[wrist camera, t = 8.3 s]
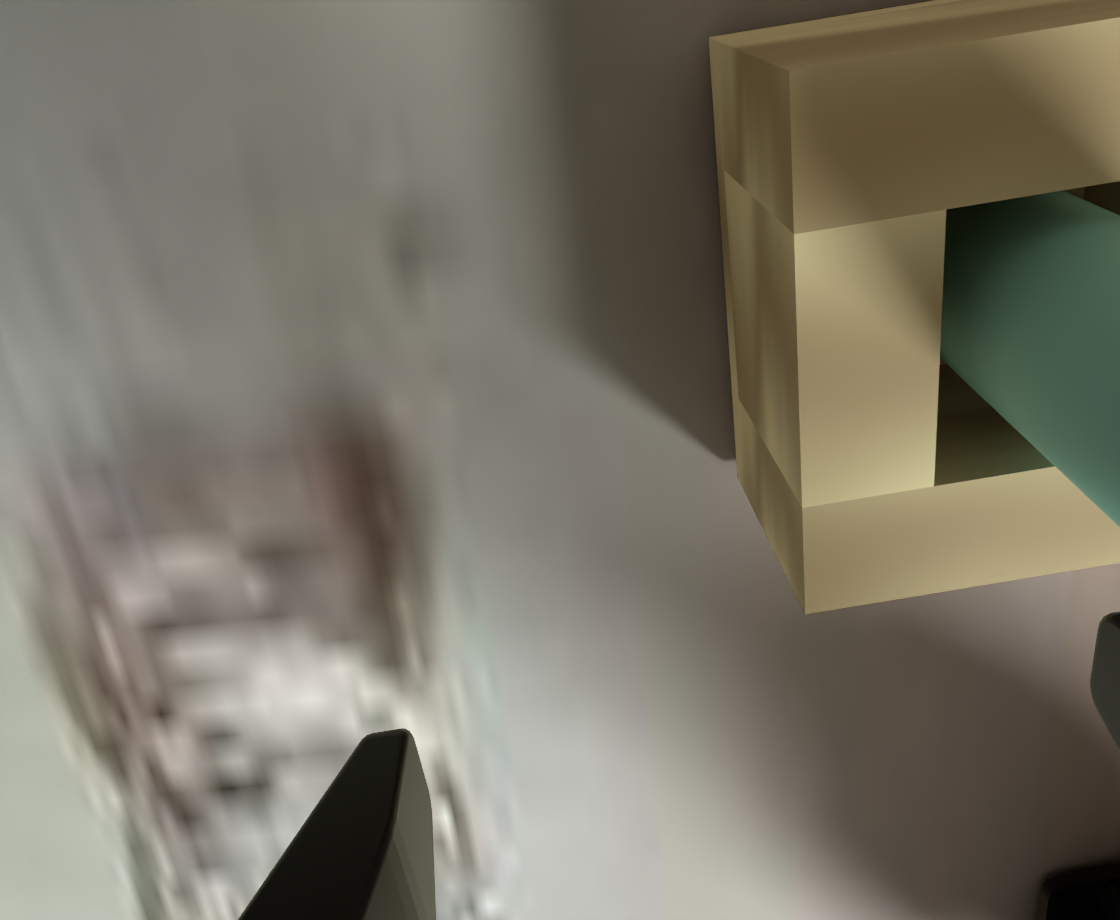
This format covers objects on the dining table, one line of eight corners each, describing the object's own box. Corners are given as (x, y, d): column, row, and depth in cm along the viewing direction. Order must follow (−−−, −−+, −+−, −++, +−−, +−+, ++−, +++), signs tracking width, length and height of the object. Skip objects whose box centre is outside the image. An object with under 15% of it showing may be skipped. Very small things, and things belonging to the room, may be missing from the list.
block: (1141, 410, 22) (1312, 530, 17) (737, 476, 22) (805, 614, 17) (1211, -45, 17) (1461, -39, 13) (708, 36, 17) (789, 71, 13)
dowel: (1042, 320, 20) (1487, 632, 11) (874, 347, 20) (1184, 679, 11) (1059, 147, 18) (1597, 351, 9) (876, 177, 18) (1241, 407, 9)
